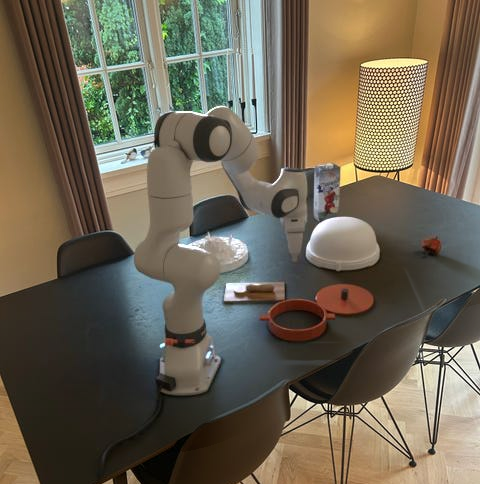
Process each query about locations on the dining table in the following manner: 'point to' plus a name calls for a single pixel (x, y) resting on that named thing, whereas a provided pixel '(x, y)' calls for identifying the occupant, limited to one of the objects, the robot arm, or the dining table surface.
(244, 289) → the spoon
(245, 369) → the dining table surface
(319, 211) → the juice carton
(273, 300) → the board
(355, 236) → the dome cover
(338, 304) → the lid
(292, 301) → the pan
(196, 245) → the cake
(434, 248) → the pomegranate
